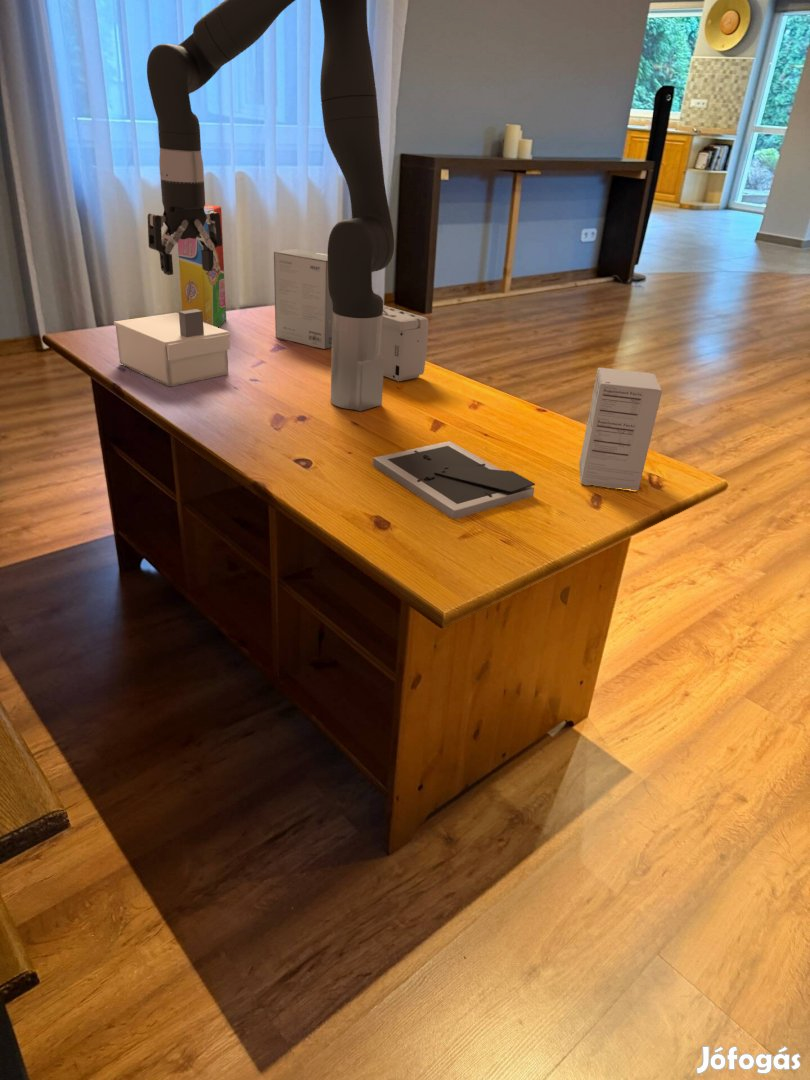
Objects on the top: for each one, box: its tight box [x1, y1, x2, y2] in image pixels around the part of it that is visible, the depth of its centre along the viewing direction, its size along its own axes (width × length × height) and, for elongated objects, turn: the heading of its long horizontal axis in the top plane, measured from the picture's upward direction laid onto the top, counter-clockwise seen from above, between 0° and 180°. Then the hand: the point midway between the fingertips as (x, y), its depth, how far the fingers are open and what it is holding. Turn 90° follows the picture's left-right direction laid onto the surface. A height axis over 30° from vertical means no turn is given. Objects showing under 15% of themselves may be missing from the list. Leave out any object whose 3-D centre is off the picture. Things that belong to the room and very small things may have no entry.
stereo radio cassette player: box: [381, 304, 429, 383], centre depth 163 cm, size 21×8×20 cm, turn 46°
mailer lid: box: [113, 309, 231, 361], centre depth 153 cm, size 19×15×8 cm
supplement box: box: [578, 367, 663, 491], centre depth 121 cm, size 10×9×17 cm
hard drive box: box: [273, 248, 333, 350], centre depth 179 cm, size 16×8×20 cm, turn 58°
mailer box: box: [115, 326, 229, 387], centre depth 156 cm, size 18×14×8 cm
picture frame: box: [372, 440, 536, 520], centre depth 119 cm, size 16×3×21 cm
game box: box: [177, 204, 227, 328], centre depth 180 cm, size 21×6×27 cm, turn 179°
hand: (188, 272), depth 144 cm, fingers open, 8 cm apart
